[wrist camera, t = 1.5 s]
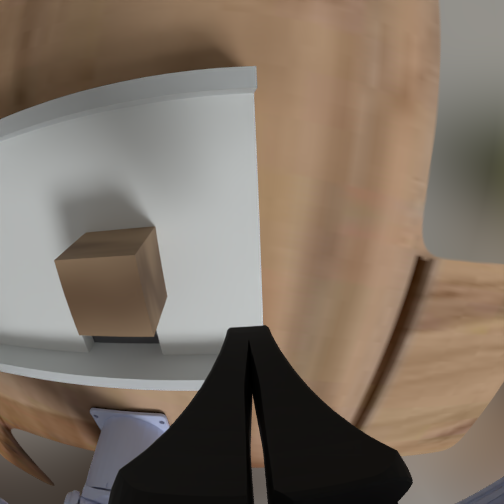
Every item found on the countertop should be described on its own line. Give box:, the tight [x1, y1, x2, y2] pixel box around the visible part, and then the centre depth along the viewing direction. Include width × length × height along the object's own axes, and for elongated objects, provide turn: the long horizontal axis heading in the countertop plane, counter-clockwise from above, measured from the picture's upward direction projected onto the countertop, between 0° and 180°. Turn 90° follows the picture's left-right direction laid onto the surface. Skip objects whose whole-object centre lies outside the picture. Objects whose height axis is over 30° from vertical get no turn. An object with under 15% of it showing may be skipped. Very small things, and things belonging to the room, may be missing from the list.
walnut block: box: [54, 226, 167, 337], centre depth 16 cm, size 4×4×4 cm
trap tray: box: [0, 66, 263, 391], centre depth 17 cm, size 18×33×4 cm, turn 93°
